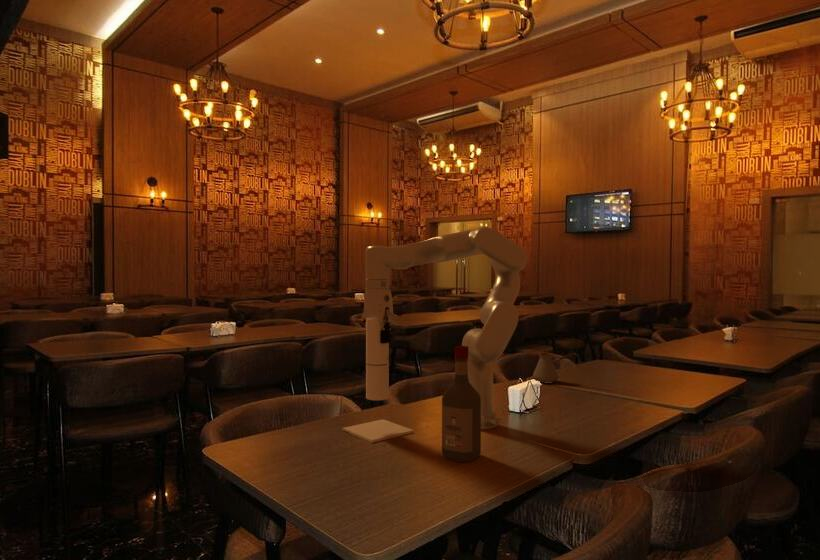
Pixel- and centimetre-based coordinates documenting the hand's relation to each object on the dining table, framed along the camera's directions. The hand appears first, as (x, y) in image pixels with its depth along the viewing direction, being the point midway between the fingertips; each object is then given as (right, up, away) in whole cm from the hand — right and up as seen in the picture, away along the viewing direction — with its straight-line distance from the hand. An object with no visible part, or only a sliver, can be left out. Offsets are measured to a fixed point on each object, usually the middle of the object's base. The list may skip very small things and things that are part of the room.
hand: (377, 341), depth 169 cm
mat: (0, -28, 0) cm, 28 cm away
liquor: (+24, -29, -22) cm, 44 cm away
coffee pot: (+76, -28, +74) cm, 109 cm away
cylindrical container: (0, -18, 0) cm, 18 cm away
